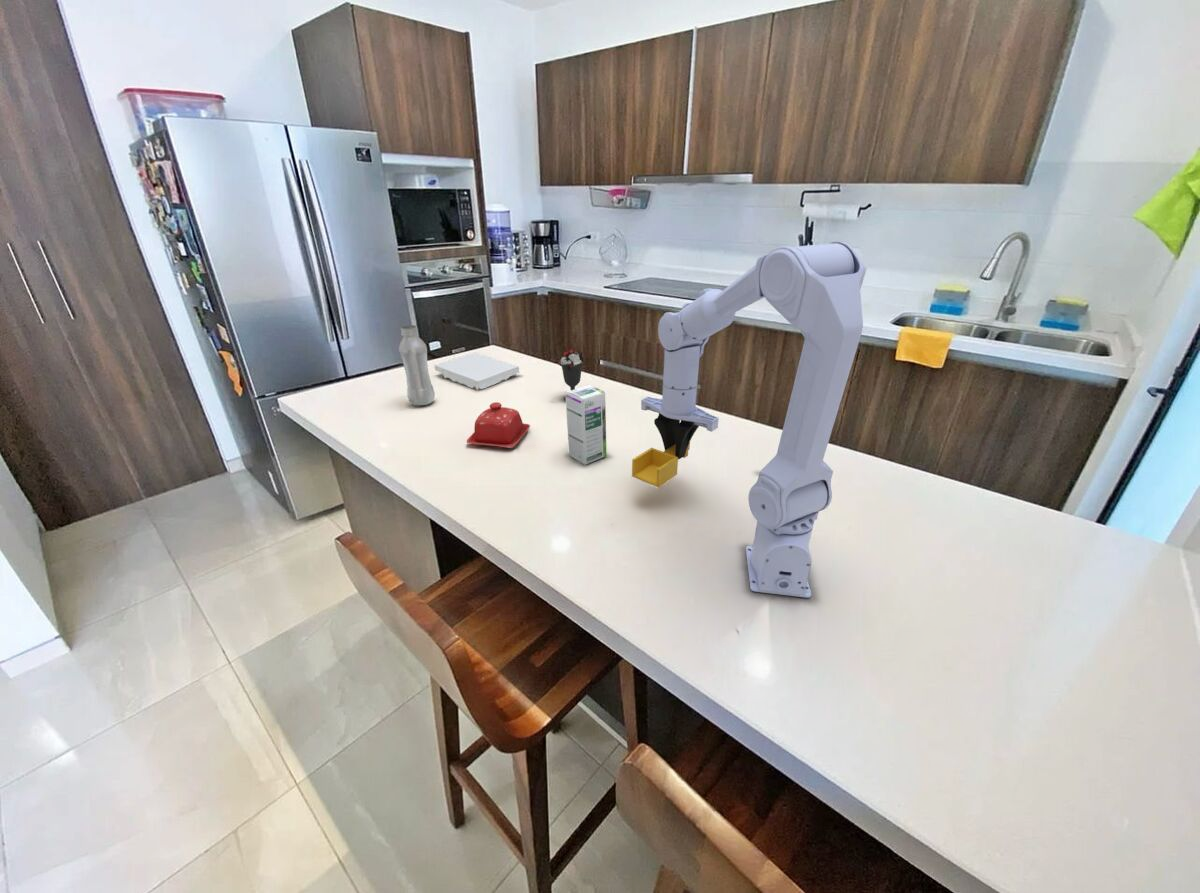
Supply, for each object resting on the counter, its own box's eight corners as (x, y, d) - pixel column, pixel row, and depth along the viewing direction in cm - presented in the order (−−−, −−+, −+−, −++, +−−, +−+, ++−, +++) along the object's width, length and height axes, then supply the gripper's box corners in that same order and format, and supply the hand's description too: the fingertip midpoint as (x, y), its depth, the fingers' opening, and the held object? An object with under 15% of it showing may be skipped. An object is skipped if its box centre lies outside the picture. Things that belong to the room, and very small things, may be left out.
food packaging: (519, 377, 147) (476, 362, 158) (518, 366, 146) (475, 352, 157) (479, 392, 137) (436, 375, 148) (478, 381, 136) (434, 365, 146)
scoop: (658, 487, 83) (659, 469, 81) (631, 476, 86) (632, 459, 84) (698, 459, 91) (699, 442, 89) (672, 450, 94) (673, 434, 93)
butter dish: (464, 447, 107) (458, 411, 103) (487, 425, 117) (482, 391, 113) (513, 453, 105) (509, 416, 101) (533, 429, 115) (530, 395, 111)
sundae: (556, 402, 129) (553, 345, 122) (565, 393, 135) (563, 338, 128) (580, 405, 127) (578, 347, 120) (588, 395, 133) (587, 340, 126)
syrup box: (585, 466, 100) (583, 398, 93) (567, 455, 104) (564, 390, 97) (607, 457, 103) (606, 391, 96) (589, 446, 107) (587, 383, 100)
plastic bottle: (408, 401, 131) (392, 325, 121) (434, 397, 133) (421, 322, 124) (410, 410, 126) (394, 331, 116) (438, 405, 128) (424, 328, 119)
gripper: (730, 387, 82) (722, 459, 88) (658, 369, 90) (655, 435, 97) (708, 399, 77) (701, 475, 83) (634, 379, 86) (633, 448, 92)
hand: (675, 455), depth 90 cm, fingers closed on scoop, 2 cm apart
